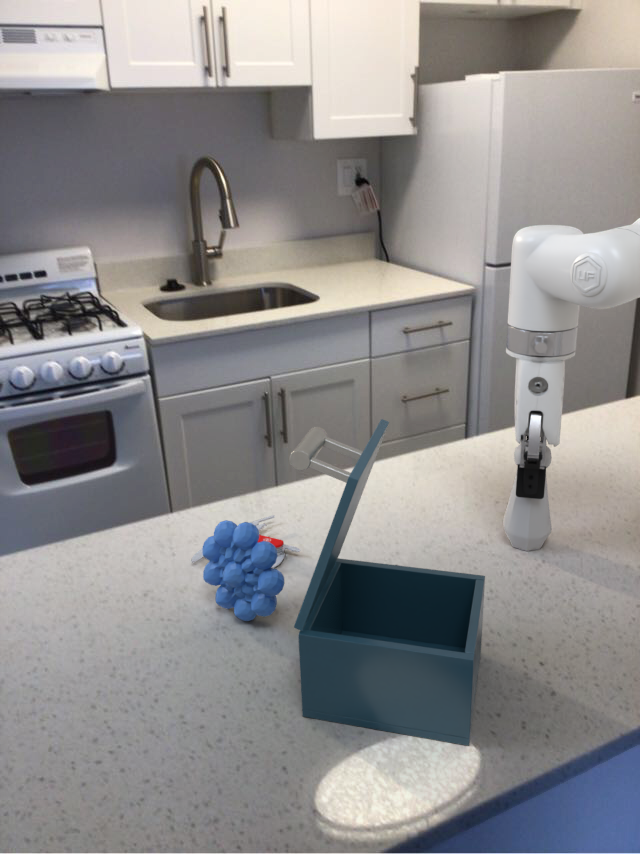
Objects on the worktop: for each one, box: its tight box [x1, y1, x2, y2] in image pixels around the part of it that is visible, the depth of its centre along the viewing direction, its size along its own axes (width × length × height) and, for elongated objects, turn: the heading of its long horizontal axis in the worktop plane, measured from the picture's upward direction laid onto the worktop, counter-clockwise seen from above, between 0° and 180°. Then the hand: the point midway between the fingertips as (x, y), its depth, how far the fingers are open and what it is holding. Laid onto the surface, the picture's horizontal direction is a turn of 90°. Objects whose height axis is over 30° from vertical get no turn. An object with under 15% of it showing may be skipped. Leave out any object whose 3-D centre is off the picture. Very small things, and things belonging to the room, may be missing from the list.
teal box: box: [297, 557, 486, 747], centre depth 69 cm, size 15×13×9 cm
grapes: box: [201, 519, 285, 622], centre depth 79 cm, size 12×7×12 cm, turn 49°
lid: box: [288, 418, 390, 632], centre depth 66 cm, size 15×13×6 cm
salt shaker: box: [502, 443, 553, 552], centre depth 91 cm, size 6×6×13 cm
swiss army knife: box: [191, 514, 301, 569], centre depth 94 cm, size 12×14×2 cm
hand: (530, 486), depth 91 cm, fingers closed on salt shaker, 4 cm apart
